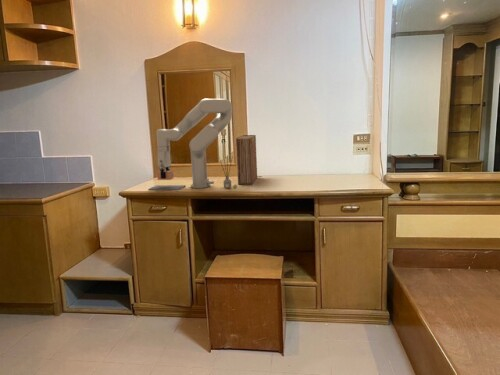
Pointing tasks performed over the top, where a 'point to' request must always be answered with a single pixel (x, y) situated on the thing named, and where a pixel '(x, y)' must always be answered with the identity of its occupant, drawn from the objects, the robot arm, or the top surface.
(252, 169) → the brown wooden block
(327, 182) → the top surface
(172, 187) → the mat
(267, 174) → the top surface
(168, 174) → the card box
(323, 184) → the top surface
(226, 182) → the reed diffuser
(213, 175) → the top surface
